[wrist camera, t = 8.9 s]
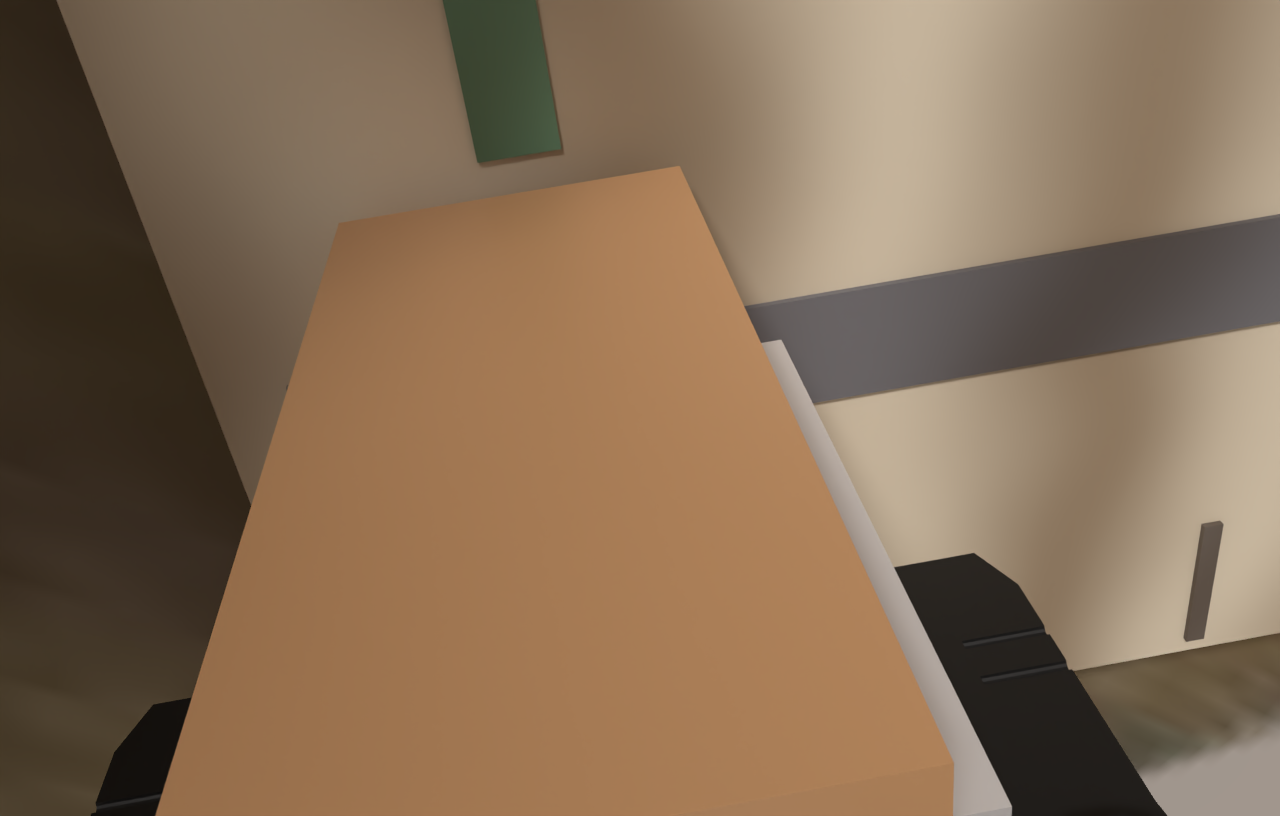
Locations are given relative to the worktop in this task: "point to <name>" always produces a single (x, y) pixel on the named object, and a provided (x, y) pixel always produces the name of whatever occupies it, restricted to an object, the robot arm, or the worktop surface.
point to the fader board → (808, 238)
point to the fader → (547, 546)
